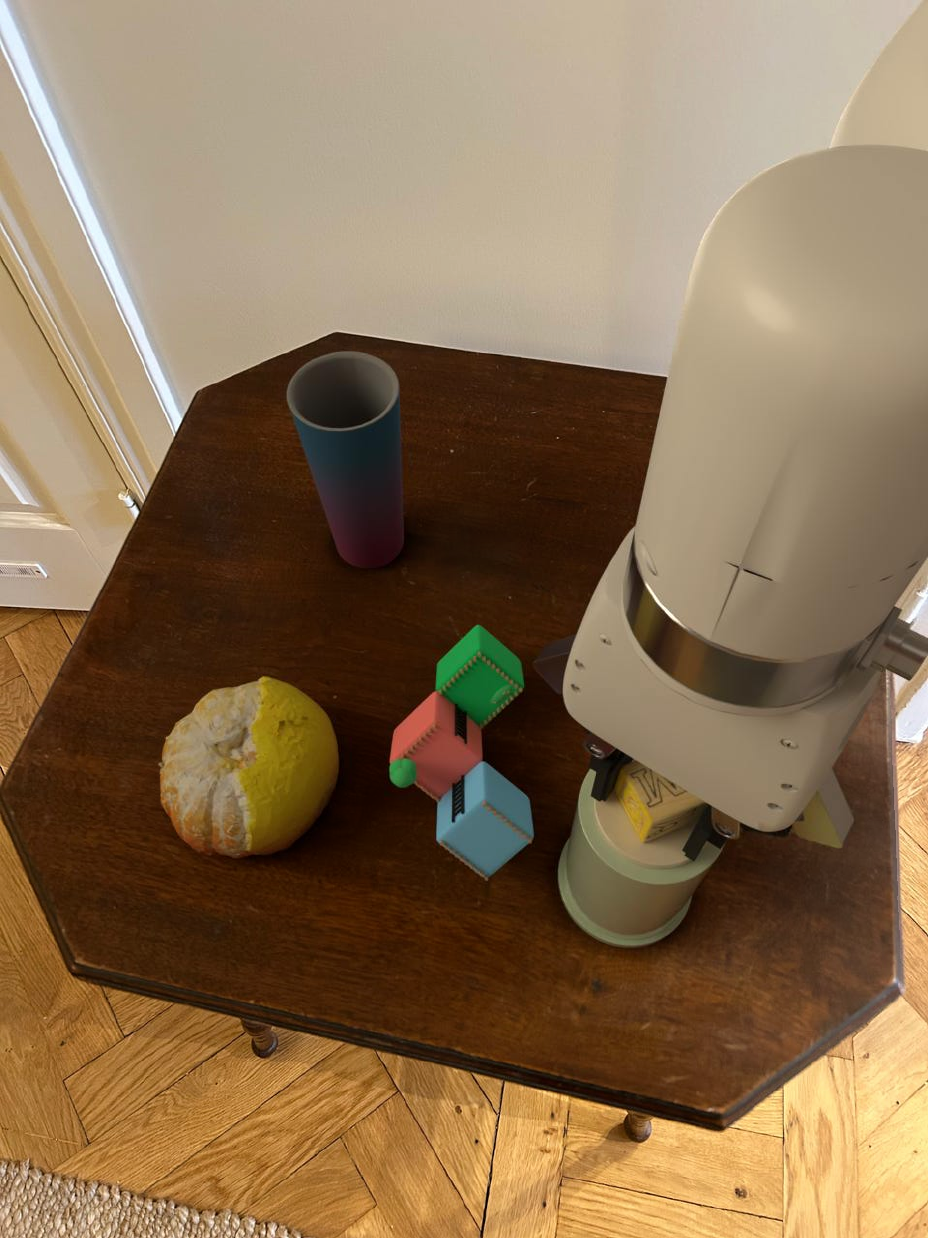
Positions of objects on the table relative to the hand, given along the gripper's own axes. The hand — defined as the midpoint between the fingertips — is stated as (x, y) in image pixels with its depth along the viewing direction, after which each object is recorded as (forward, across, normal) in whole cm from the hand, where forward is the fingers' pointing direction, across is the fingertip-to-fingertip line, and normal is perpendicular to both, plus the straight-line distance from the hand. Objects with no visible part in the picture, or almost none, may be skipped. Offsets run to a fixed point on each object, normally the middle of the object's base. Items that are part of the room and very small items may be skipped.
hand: (657, 802), depth 43 cm
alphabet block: (+1, 0, 0) cm, 1 cm away
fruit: (+13, +22, +8) cm, 27 cm away
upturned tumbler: (+12, 0, 0) cm, 12 cm away
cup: (+13, +28, -11) cm, 33 cm away
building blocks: (+13, +11, -1) cm, 17 cm away
